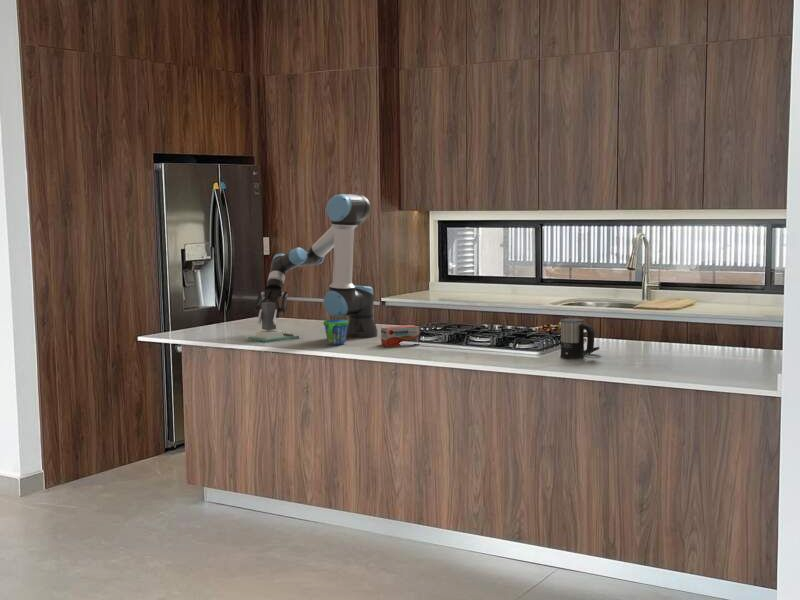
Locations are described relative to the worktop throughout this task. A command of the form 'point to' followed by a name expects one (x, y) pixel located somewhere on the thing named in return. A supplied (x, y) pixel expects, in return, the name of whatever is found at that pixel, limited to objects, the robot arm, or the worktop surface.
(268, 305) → the gray rounded block
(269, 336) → the board
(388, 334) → the medicine box
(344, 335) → the snack cup
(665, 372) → the worktop surface
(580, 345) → the milk frother
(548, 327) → the plate of food
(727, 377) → the worktop surface
